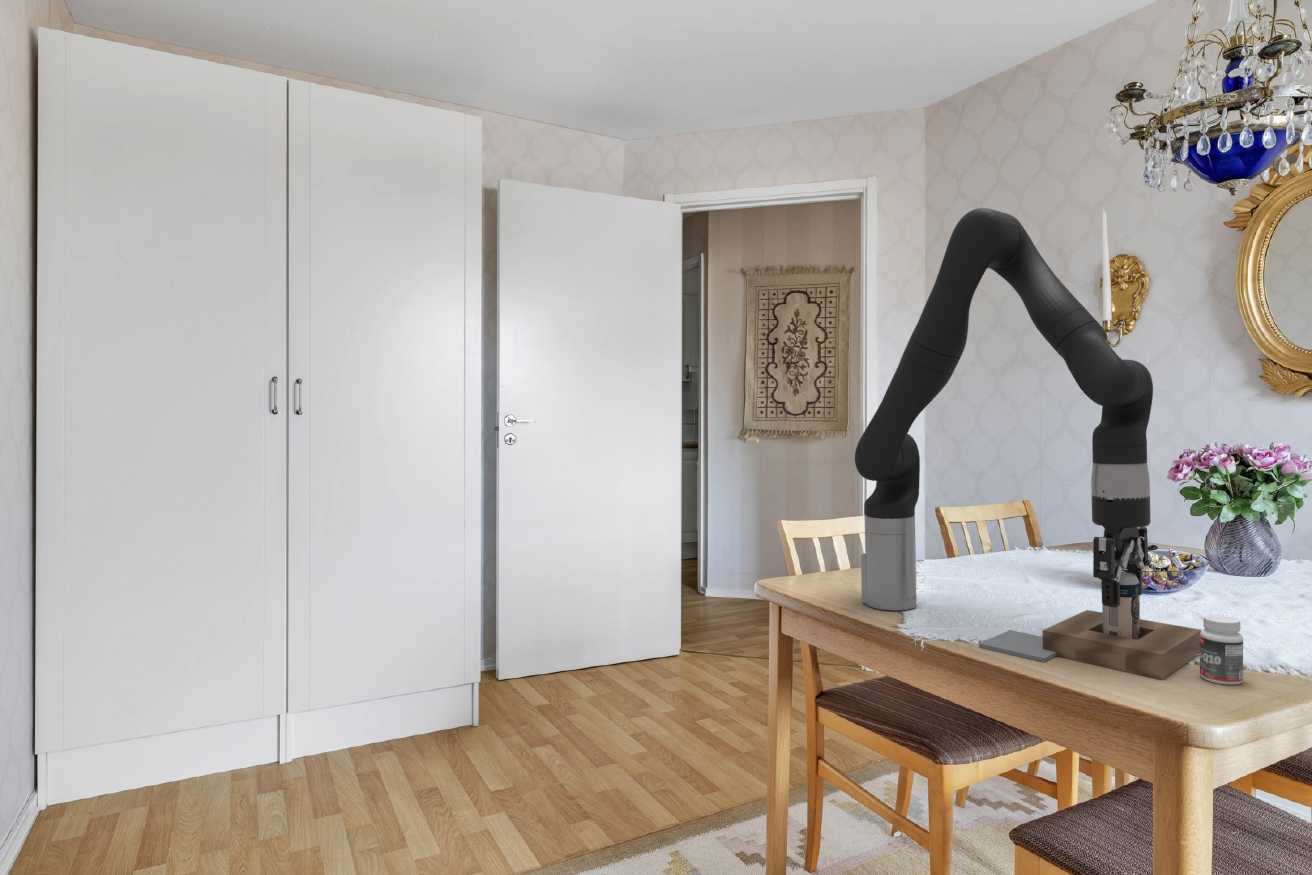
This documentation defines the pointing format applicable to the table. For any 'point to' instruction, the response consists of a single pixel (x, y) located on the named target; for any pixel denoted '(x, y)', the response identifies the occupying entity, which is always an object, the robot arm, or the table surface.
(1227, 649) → the pill bottle
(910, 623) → the table surface
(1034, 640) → the mat
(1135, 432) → the robot arm
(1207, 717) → the table surface
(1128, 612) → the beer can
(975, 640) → the table surface
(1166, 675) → the block
